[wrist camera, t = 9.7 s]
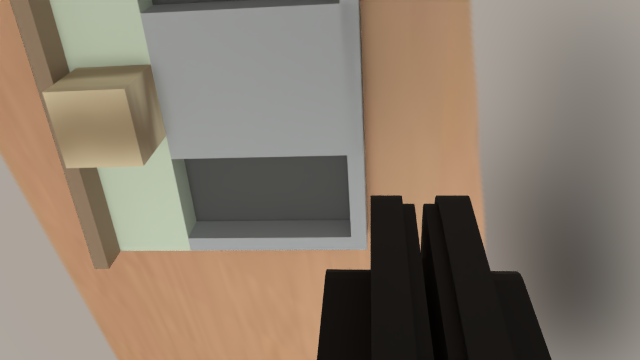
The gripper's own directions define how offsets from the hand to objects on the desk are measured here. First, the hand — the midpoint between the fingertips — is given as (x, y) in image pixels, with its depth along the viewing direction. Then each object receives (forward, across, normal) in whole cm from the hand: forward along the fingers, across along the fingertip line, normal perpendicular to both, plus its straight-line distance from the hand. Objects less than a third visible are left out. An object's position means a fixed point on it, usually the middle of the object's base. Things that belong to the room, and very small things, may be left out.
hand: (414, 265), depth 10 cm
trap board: (+26, +10, +6) cm, 28 cm away
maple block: (+23, +16, +6) cm, 29 cm away
